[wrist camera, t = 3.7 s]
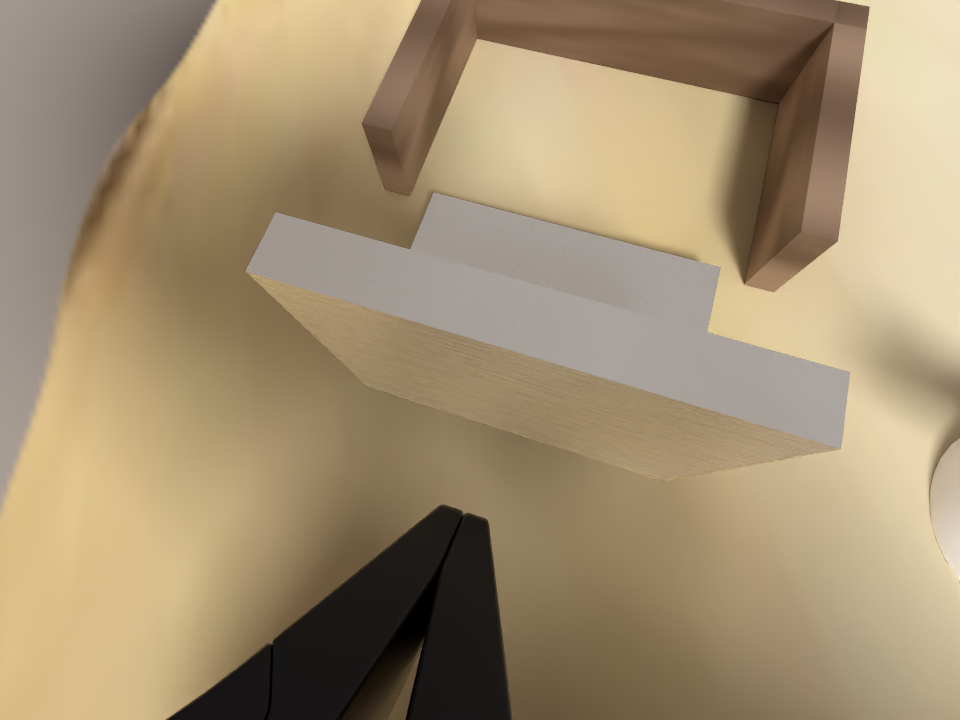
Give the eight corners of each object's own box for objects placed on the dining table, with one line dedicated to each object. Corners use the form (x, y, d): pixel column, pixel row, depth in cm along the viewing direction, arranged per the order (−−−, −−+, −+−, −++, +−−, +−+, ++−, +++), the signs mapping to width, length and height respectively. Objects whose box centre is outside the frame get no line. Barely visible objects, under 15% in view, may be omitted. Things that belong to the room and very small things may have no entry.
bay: (773, 291, 20) (837, 241, 16) (385, 189, 22) (361, 123, 19) (808, 89, 23) (869, 6, 19) (462, 16, 25) (455, -71, 22)
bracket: (662, 481, 18) (841, 448, 9) (367, 386, 20) (245, 271, 10) (705, 284, 21) (883, 88, 11) (437, 212, 22) (391, -14, 13)
